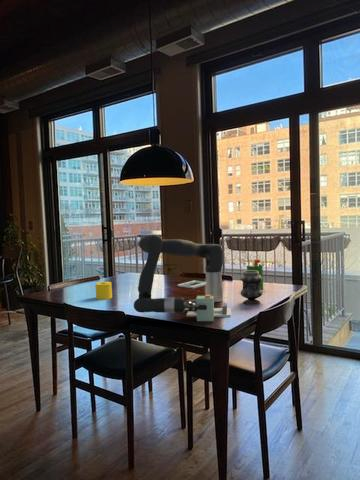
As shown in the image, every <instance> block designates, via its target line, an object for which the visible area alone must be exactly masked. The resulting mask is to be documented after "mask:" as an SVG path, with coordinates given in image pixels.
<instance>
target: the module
mask: <svg viewBox="0 0 360 480" xmlns="http://www.w3.org/2000/svg"><path fill="white" fill-rule="evenodd" d="M195 299H196V305H207V310H198V311H197V317H196V321H197V322H214V320H215V319H214V318H215V317H214V308H215V302H214V296H211V294H206V295H205V294H204V295H196V298H195Z"/></svg>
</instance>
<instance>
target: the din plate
mask: <svg viewBox="0 0 360 480" xmlns="http://www.w3.org/2000/svg"><path fill="white" fill-rule="evenodd" d="M231 316H232V308H231V307H228V303H227V302H223V303H222V306H221V307H214V318H217V317H219V318H221V317H222V318H226V317H227V318H230V317H231ZM190 317H191V318H193V317H194V318H197V312H188V311H187V313H186V318H190Z"/></svg>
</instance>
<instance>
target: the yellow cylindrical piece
mask: <svg viewBox="0 0 360 480" xmlns="http://www.w3.org/2000/svg"><path fill="white" fill-rule="evenodd" d="M112 285H113V284H112V281H99V282H95V299H96V300H101V301H102V300H110V299H112V298H113V288H112Z"/></svg>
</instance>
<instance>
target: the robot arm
mask: <svg viewBox="0 0 360 480" xmlns="http://www.w3.org/2000/svg"><path fill="white" fill-rule="evenodd" d="M139 247H140V249H141V250H142V252H144V253H146V254H147V258H146V262H145V264H144V266H143V268H142V271H141V273H140V275H139V279H138V285H137V286H138V287H137V290H138V298H137V299H136V300H135V301H134V302H133V309H134V310H135V311H136V312H138V313H167V314H184V313H185V312H187V313H188V312H197V311H198V310H207V305H196V298H194V299H189V298H188V299H187V301H185V300H186V299H185V298H184V297H163V298H162V297H161V298H160V297H159V298H152V290H153V284H154V278H155V272H156V268H157V266H158V262H159V259H160V256H161V254H166V255H171V256H177V257H183V258H192V257H199V258H202V259H206V260H209V265H206V266H205V282H206V284H205V286H204V290H205V291H204V292H205V293H204V296H205V295H206V294H211V296H214V303H218V302H222V301H223V281H222V280H223V279H222V269H223V266H224V265H223V261H224V260H223V258H224V253H223V252H224V251H223V247H222V246H221V245H220V244H217V243H195V242H194V241H191V240H187V239H181V238H177V239H175V238H173V239H172V238H171V239H165V238H162V237H161V236H160V235H159V234H149V235H145V236H144V237H142V238H141V239H140V241H139Z"/></svg>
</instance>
